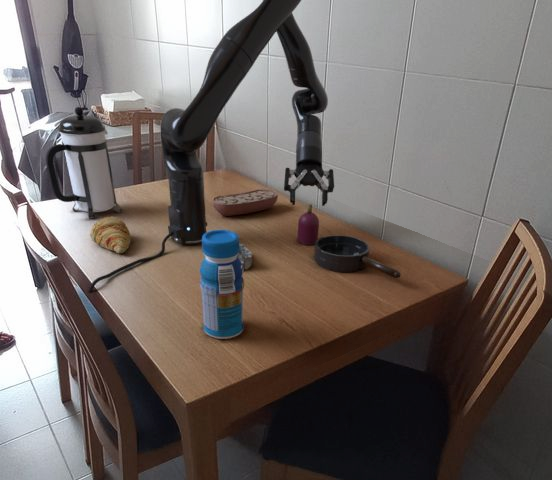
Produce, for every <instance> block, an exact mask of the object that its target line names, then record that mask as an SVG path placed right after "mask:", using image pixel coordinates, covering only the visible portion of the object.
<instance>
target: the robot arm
mask: <svg viewBox="0 0 552 480" xmlns="http://www.w3.org/2000/svg"><path fill="white" fill-rule="evenodd" d="M301 2H302V0H262V2H261V3H260V4H259V5H258V6H257V7H256V8H255V9H254V10H253V11H252V12H250V13H249V14H248V15H246V16H245V17H243V18H242V19H241V20H239V21H238V22H237V23H235V24H234V25H233V26H231V27H230V28H229V29H228V30H227V31H226V33H225V34H224V35H223V36H222V38H221V39H220V41H219V42H218V43H217V44H216V47H215V48H214V49H213V51H212V53H211V54H210V57H209V59H208V62H207V65H206V69H205V73H204V77H203V81H202V83H201V87H200V88H199V90H198V92H197V94H196V95H195V97H194V98H193V99H192V101H191V102H190V103H189V104H188V106H187V107H186V108H185V109H183V108H178V107H175V108H174V107H173V108H170V109H169V110H167V111H166V112H165V113H164V115H162V117H161V119H160V120H161V121H160V126H159V127H160V128H159V129H160V131H159V133H160V141H161V148H162V155H163V157H162V158H163V162H164V165H165V166H164V167H165V168H166V171H167V177H168V178H167V179H168V187H169V188H168V189H169V199H170V204H169V205H168V206H167V211H168V222H169V225H168V226H167V228H168V229H167V230H168V234H167V235H166V236H165V237H164V238H163V240H162V242H161V250H160V252H158V253H157V254H154V255H153V256H149V257H144V258H139V259H136V260H134V261H132V262H129V263H127V264H125V265H122V266H120V267H118V268H117V269H115V270H113V271H111V272H109V273H106V274H104V275H102V276H99V277H97V278H95V279H94V280H93V281H92V282H91V284H90V285H89V287H88V289H87V294H90V293H92V292H93V289H94V288H95V286H96V285H97V283H99V282H100V281H103V280H105V279H108V278H110V277H112V276H115V275H116V274H118V273H120V272H122V271H124V270H126V269H128V268H130V267H134V266H135V265H137V264H140V263H144V262H148V261H151V260H154V259H157V258H159V257H161V256H162V255H163V254H164V253H165V250H166V243H167V240H168V239H171V240H172V241H173V242H176V243H177V244H179V245H180V246H187V245H188V246H189V245H191V246H192V245H199V244H202V236H203V235H204V234H205V233H207V232H208V231H207V227H208V222H207V218H206V217H207V216H206V215H207V214H206V198H205V196H206V195H205V179H204V178H205V177H204V167H203V165H202V162H201V161H200V159H199V156H198V153H197V151H199V149H201V148H202V146H203V145H204V143H205V142H206V140H207V138H208V137H209V135H210V133H211V131H212V129H213V128H214V126H215V124H216V122H217V120H218V118H219V117H220V115H221V113H222V112H223V109H224V108H225V107H226V105H227V104H228V102H229V101H230V99H231V98H232V96H233V95H234V93H235V92H236V91H237V89H238V88H239V86H240V85H241V83H242V82H243V80H244V79H245V78H246V77H247V75H248V73H249V72H250V71H251V69H252V67H253V66H254V65H255V63H256V61H257V60H258V58H259V57H260V55H261V54H262V52H263V51H264V49H265V48H266V46H267V45H268V44H269V42H270V41H271V39H272V38H273V37H274V35H275V34H277V36H278V40H279V42H280V45H281V48H282V50H283V53H284V57H285V61H286V65H287V69H288V72H289V76H290V79H291V82H292V84H293V86H295V87H297V88H301V89H298V90H296V91H295V92H293V94H292V97H291V106H292V107H291V108H292V110H293V113H294V116H295V120H296V127H297V129H296V130H297V131H296V145H295V169H291V168H290V167H285V171H284V182H283V183H284V184H283V191H284V192H289V202H290V204H291V205H292V206H295V205H296V191H297V190H298V189H299V188H300V187H301V186H303V187H308V186H309V187H316V188H317V189H318V190H320V192H321V206H322V207H325V206H326V205H327V204H328V201H329V199H328V198H329V196H328V194H329V193H333V192H334V189H335V178H334V175H335V174H334V169H332V168H330V169H329V170H324V169H323V141H322V121H321V119H320V118H319V117H318V116H316V114H321V113H324V112H325V111H326V110H327V108H328V105H329V99H328V94H327V92H326V89H325V88H324V86H323V84H322V82H321V80H320V78H319V77H318V75H317V72H316V68H315V63H314V58H313V54H312V50H311V47H310V45H309V42H308V41H307V39H306V37H305V35H304V33H303V32H302V30H301V28H300V26H299V24H298V23H297V21H296V18H295V16H294V13H293V12H294V11H295V10H296V8H297V7H298V6H299V5H300V4H301ZM293 176H294V177H295V180H294V182H292V184H289V182H290V179H292V177H293ZM323 177H325V179H326V180H327V182H328V183H327V184H328V186H327V185H326V182H325V180H324V179H323Z"/></svg>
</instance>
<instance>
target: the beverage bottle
mask: <svg viewBox="0 0 552 480" xmlns="http://www.w3.org/2000/svg"><path fill="white" fill-rule="evenodd" d="M239 245H240V236H239V234H238V233H237V232H235V231H232V230H228V229H213V230H209V231H207V232H206V233H205V234H204V235H203V236H202V243H201V248H202V254H203V255H204V256H205V257H204V258H203V259H202V262H201V263H200V267H199V273H200V276H201V277H200V279H199V287H200V290H201V302H202V317H203V318H202V319H203V330H204V333H205V334H206V335H208V336H209V337H211V338H214V339H220V340H229V339H232V338H236V337H238V336H240V335H241V334H242V333H243V331H244V329H245V324H244V323H245V321H244V288H245V279H244V277H243V274H244V269H243V266H242V263H241V261H240V260H239V258H238V257H237V255H238V253H239Z"/></svg>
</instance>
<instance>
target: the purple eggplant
mask: <svg viewBox="0 0 552 480" xmlns="http://www.w3.org/2000/svg"><path fill="white" fill-rule="evenodd" d="M306 211H307V212H304V213H302V214H301V215H300V216H299V218H298V224H297V237H296V240H297V241H298V242H299V243H301V244H302V245H308V246H309V245H315V242H316V241H317V239H319V227H320V220H319V217H318V215H317V214H316V213H314V212H312V211H313V204H312V203H309V204H308V205H307V209H306Z"/></svg>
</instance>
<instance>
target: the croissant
mask: <svg viewBox="0 0 552 480" xmlns="http://www.w3.org/2000/svg"><path fill="white" fill-rule="evenodd" d="M89 236H90V239H91V240H92V241H93V242H94V243H96V244H97V246H100V247H102V248H104V249H107V250H109V251H112V252H114V253H117V254H123V253H125V252H126V251H127V250H128V249H129V247H130V245H131V240H132V238H131V233H130V229H129V228H128V226H127V224H126V223H125V221H122V219H119V218H118V217H114V216H111V215H110V216H106V217H103V218H100V219H98V220H97V221H96V222H95V223H94V224H93V226H92V227H91V230H90V233H89Z"/></svg>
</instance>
